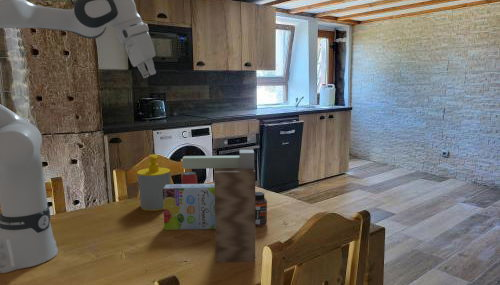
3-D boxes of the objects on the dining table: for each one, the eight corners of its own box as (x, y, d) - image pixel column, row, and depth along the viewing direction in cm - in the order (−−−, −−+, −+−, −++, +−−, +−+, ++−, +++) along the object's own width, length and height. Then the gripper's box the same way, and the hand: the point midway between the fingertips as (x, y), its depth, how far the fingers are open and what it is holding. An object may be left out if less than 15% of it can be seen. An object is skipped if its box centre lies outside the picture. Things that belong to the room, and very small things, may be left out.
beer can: (194, 202, 151) (193, 175, 149) (179, 201, 152) (178, 174, 150) (199, 198, 157) (199, 171, 155) (185, 197, 158) (184, 170, 156)
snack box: (226, 223, 129) (225, 182, 126) (225, 229, 123) (225, 187, 121) (167, 224, 128) (165, 183, 126) (163, 230, 123) (161, 188, 120)
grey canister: (143, 213, 138) (140, 159, 135) (135, 203, 150) (132, 154, 146) (176, 207, 145) (174, 156, 141) (166, 198, 156) (164, 151, 152)
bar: (182, 169, 99) (181, 153, 98) (184, 165, 104) (184, 150, 103) (254, 168, 100) (254, 152, 99) (253, 164, 105) (253, 149, 104)
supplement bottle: (261, 228, 124) (261, 197, 122) (246, 225, 127) (246, 194, 125) (269, 222, 129) (270, 192, 127) (255, 219, 132) (255, 189, 130)
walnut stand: (216, 262, 100) (214, 172, 96) (217, 243, 112) (216, 162, 108) (255, 261, 101) (255, 171, 97) (253, 242, 113) (252, 162, 108)
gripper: (117, 42, 118) (134, 82, 122) (127, 29, 100) (147, 76, 104) (135, 36, 121) (151, 75, 124) (148, 22, 103) (167, 69, 106)
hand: (149, 76), depth 114 cm, fingers open, 8 cm apart
